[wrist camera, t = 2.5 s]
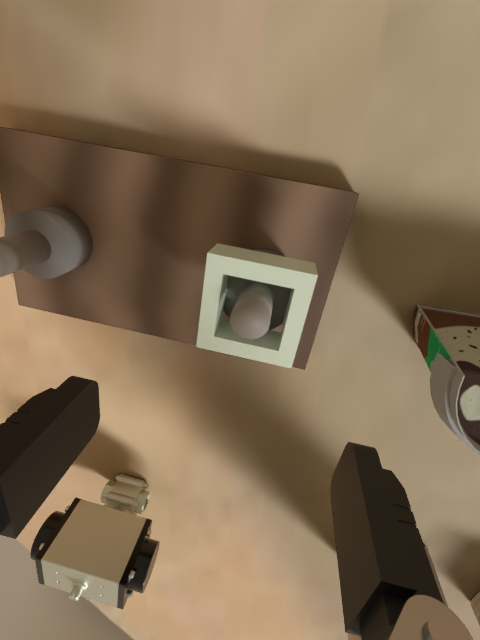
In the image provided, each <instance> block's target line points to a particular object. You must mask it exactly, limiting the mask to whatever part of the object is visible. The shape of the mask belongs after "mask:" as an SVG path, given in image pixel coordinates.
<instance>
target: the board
mask: <svg viewBox="0 0 480 640" xmlns="http://www.w3.org/2000/svg"><path fill="white" fill-rule="evenodd" d="M0 193H1V199H2V205H3V211H4V218H5V224H6V227H5V236H4V237H0V277H2V276H5V275H8V274H11V273H14V279H15V285H16V291H17V297H18V303H19V305H21V306H26V307H30V308H34V309H39V310H43V311H48V312H52V313H57V314H61V315H65V316H70V317H74V318H79V319H83V320H87V321H92V322H96V323H101V324H105V325H110V326H114V327H118V328H123V329H127V330H132V331H136V332H141V333H145V334H149V335H154V336H158V337H163V338H167V339H172V340H176V341H180V342H185V343H189V344H194V345H196V344H197V336H198V327H199V319H200V310H201V302H202V293H203V285H204V276H205V268H206V259H207V252H209V251H210V250H211V249H212V248H213V247H214V246H215V245H216V244H217V243H219V244H224V245H229V246H234V247H239V248H244V249H249V250H254V251H259V252H264V253H269V254H274V255H279V256H284V257H288V258H293V259H298V260H303V261H308V262H313V263H316V268H317V273H318V277H317V281H316V284H315V288H314V291H313V295H312V298H311V302H310V305H309V309H308V312H307V316H306V319H305V323H304V326H303V330H302V333H301V337H300V340H299V344H298V347H297V351H296V354H295V358H294V361H293V365H292V367H295V368H300V369H304V370H305V367H306V364H307V361H308V358H309V355H310V351H311V348H312V345H313V342H314V338H315V335H316V332H317V329H318V325H319V322H320V319H321V316H322V312H323V309H324V306H325V303H326V299H327V296H328V293H329V290H330V286H331V283H332V280H333V277H334V273H335V270H336V267H337V264H338V260H339V257H340V254H341V251H342V247H343V244H344V241H345V238H346V234H347V231H348V228H349V225H350V221H351V218H352V215H353V212H354V208H355V205H356V202H357V199H358V195H359V193H356V192H353V191H348V190H342V189H337V188H332V187H326V186H321V185H315V184H310V183H304V182H299V181H293V180H288V179H283V178H277V177H272V176H266V175H261V174H255V173H250V172H245V171H239V170H234V169H228V168H223V167H217V166H212V165H206V164H201V163H196V162H190V161H185V160H179V159H174V158H168V157H163V156H158V155H152V154H147V153H141V152H136V151H130V150H125V149H119V148H114V147H109V146H103V145H98V144H92V143H87V142H81V141H76V140H71V139H65V138H60V137H54V136H49V135H43V134H38V133H32V132H27V131H22V130H16V129H10V128H4V127H0ZM291 289H292V288H287V287H282V286H278V285H273V284H268V283H263V282H258V281H254V280H249V279H244V278H239V277H234V276H230V275H229V279H228V285H227V292H226V298H225V305H224V312H223V318H222V319H223V320H228V321H230V325H231V327H232V329H233V331H234V332H235V333H236V334H237V335H238V336H240V337H242V338H245V339H257V338H260V337H262V336H263V335H264V334H265V333H266V332H267V331H268V329H269V330H273V331H278V332H281V329H282V325H283V321H284V317H285V313H286V309H287V305H288V301H289V297H290V293H291Z"/></svg>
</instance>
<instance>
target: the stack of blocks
mask: <svg viewBox="0 0 480 640" xmlns="http://www.w3.org/2000/svg"><path fill="white" fill-rule="evenodd" d="M470 603H471V606H472V609H473V611H474V614H475V616H476V618H477V621H478V623H479V625H480V591H479V592H478V593H477V595H476V596H475V597H474V598H473V599H472V600H471V602H470Z"/></svg>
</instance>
